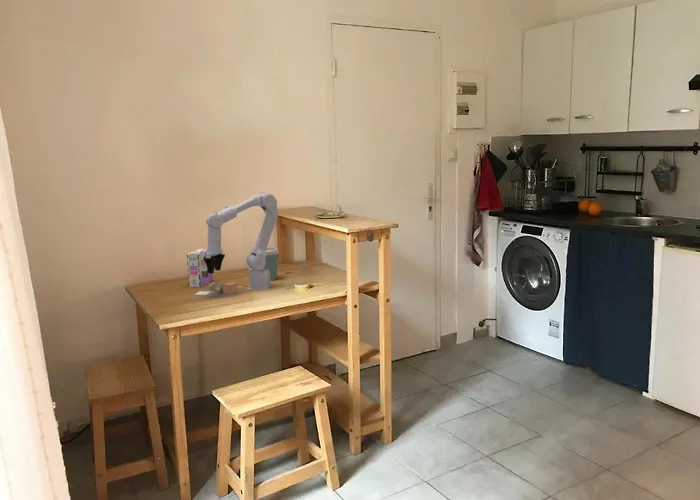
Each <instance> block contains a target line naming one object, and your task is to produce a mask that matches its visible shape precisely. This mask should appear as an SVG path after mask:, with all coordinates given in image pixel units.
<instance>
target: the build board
mask: <svg viewBox="0 0 700 500" xmlns="http://www.w3.org/2000/svg"><path fill="white" fill-rule="evenodd" d="M240 292H241V290H238V289H237V293H235V294H234V295H224V289H223V293H221V294H220V295H214V294H210V289H200V290H198V291H197V292H196V293H194V294H192V295H191V297H209V298H210V297H217V298H219V297H221V298H225V297H227V298H233V297H234V296H236V295H238V294H239V293H240Z"/></svg>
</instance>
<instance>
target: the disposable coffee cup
mask: <svg viewBox="0 0 700 500" xmlns="http://www.w3.org/2000/svg"><path fill="white" fill-rule="evenodd" d="M279 253H280V252H279V248H277V247H273V246H272V247H271V246H269V247H267V248H266V259H265V262H266V264H265V267H264V269H266V270H269V271H270V281H273V280H276V279H277V276H278V265H279Z"/></svg>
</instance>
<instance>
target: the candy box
mask: <svg viewBox="0 0 700 500" xmlns="http://www.w3.org/2000/svg"><path fill="white" fill-rule="evenodd" d="M205 251H208V248H198V249H196V250H193V251H191V252H189V253H187V254H186V260H187V273H188V287H189V288H191V287H192V288H196V287H197V288H201V287H203V286H204V285H206V284H208V283H213V282H214V281H213V274H210V273H208V269H207V266H206V263H205V261H204V259H203V258H204V257H206V253H205Z"/></svg>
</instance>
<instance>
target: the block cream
mask: <svg viewBox="0 0 700 500" xmlns="http://www.w3.org/2000/svg"><path fill="white" fill-rule="evenodd" d="M223 285H224V283H223V281H212V282H210V283H209V284H208V286H209V289H208V290H210V294H214V295H220V294H221V293H223V290H224V289H223Z"/></svg>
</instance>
